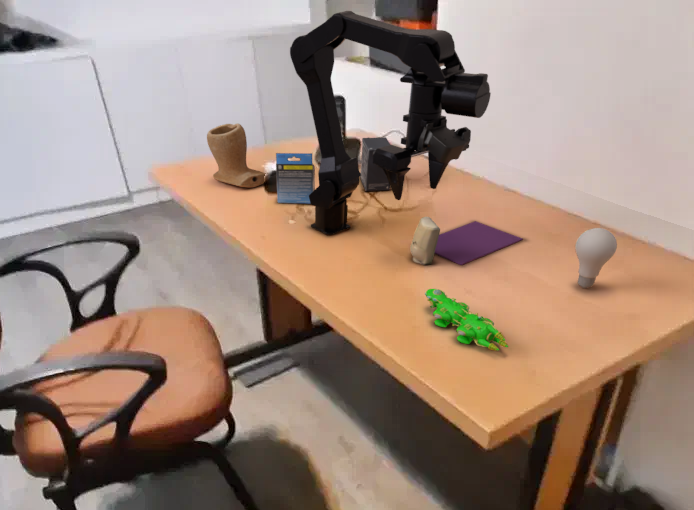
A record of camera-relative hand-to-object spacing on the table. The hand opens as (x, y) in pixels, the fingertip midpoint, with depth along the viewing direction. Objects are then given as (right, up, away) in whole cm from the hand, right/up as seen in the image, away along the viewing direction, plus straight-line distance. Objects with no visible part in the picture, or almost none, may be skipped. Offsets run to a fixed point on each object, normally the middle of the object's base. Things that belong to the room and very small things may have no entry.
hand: (415, 193), depth 120 cm
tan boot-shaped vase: (-34, +14, +46) cm, 59 cm away
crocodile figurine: (+2, -27, -19) cm, 33 cm away
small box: (+1, +12, +39) cm, 41 cm away
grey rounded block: (+2, -13, +2) cm, 13 cm away
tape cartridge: (-20, +6, +33) cm, 39 cm away
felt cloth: (+13, -8, +7) cm, 17 cm away
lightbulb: (+27, -19, -10) cm, 35 cm away
